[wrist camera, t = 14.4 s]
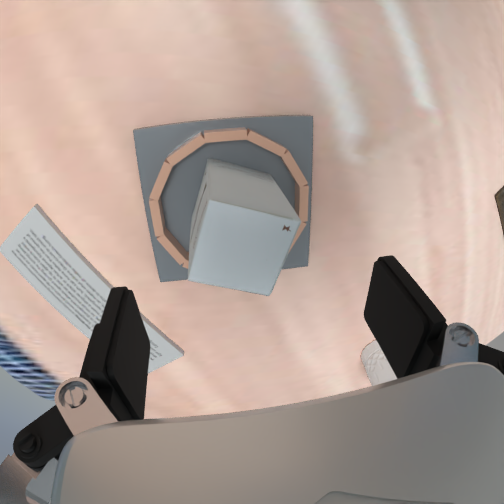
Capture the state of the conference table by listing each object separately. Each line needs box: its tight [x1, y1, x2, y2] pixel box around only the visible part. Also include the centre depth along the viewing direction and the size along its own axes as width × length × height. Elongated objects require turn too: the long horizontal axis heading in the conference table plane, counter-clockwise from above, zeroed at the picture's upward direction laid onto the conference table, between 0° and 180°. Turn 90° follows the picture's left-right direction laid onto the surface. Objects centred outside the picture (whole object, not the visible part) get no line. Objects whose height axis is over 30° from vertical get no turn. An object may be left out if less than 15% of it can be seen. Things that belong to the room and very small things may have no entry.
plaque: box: [0, 204, 184, 373], centre depth 41 cm, size 30×2×10 cm
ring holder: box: [133, 115, 313, 282], centre depth 35 cm, size 19×19×3 cm
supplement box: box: [188, 158, 301, 296], centre depth 30 cm, size 7×7×13 cm
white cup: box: [361, 340, 397, 386], centre depth 50 cm, size 8×8×10 cm
